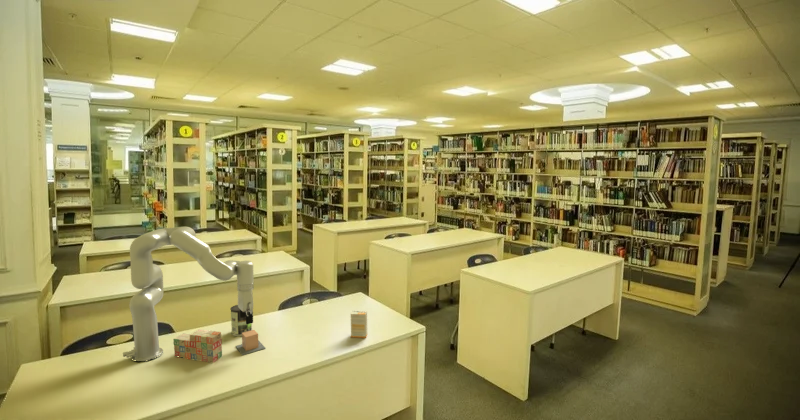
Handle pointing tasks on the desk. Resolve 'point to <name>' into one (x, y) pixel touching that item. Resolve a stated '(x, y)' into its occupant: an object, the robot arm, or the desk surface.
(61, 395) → the desk surface
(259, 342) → the mat
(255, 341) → the tan cardboard-coloured cube
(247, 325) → the coffee can
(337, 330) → the desk surface
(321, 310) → the desk surface
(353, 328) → the supplement box
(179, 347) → the stack of blocks
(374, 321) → the desk surface
